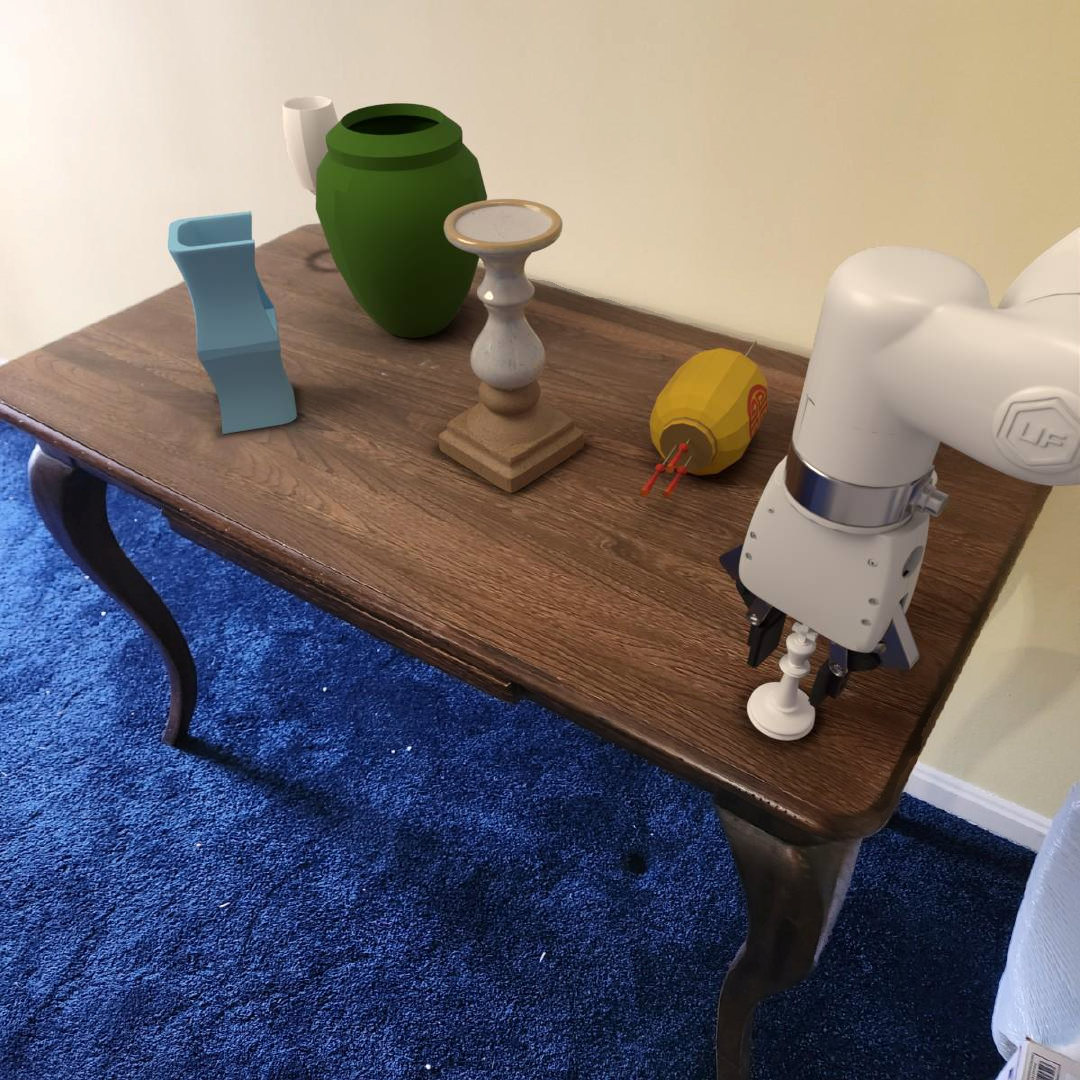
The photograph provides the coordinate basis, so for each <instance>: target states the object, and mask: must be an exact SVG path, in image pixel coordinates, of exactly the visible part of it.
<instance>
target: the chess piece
mask: <svg viewBox="0 0 1080 1080" xmlns="http://www.w3.org/2000/svg"><path fill="white" fill-rule="evenodd" d="M791 630H792V631H793V632H791V633H790V634H789V635H788V636H787V638H786V641H785V644H786V645H785V646H786V649H787V653H785V654H783V656H782V657H780V659H779V662H778V665H779V668H780V670H781V671H782V672H783V675H782V677H781V679H780V681H770V682H766V683H763V684H761V685H759V686H757V687H756V688H755V689H754V690H753V691H752V693H751V695H750V697H749V698H748V701H747V706H746V710H747V711H746V712H747V716H748V718H749V721H750V722H751V723H752V725H753V726H754V727H755V728H756V729H757V730H758V731H759V732H761V733H762V734H764V735H765V736H767V737H769V738H772V739H775V740H779V741H795V740H800V739H801V738H803V737H806V735H808V734H809V733H810V732H811V731H812V729H813V728H814V725H815V720H816V719H815V718H816V708H814V707H813V706H811V705H810V702H809V701H808V699H809V696H808V695H807V694H806V692H804V691H803V690H802V689H800V688H799V681H800V679H801V678H804V677H807V676H808V675H809V674H810V672H811V663H810V661H809V660H808V659H809V657H811V656H812V655H813V654H815V652H816V650H817V642H816V641H817V639H818V637H819V633H818V632H816V631H814V630H813V629H811V628H809V627H808V626H806V625H804V624H803V623H800V622H799V621H795V622H794V623H793V625H792V627H791Z"/></svg>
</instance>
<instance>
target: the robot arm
mask: <svg viewBox="0 0 1080 1080" xmlns="http://www.w3.org/2000/svg"><path fill="white" fill-rule="evenodd" d="M809 357H810V358H809V361H808V366H807V370H806V374H805V379H804V383H803V387H802V391H801V395H800V396H801V397H800V400H799V404H798V409H797V413H796V417H795V421H794V425H793V430H792V434H791V438H790V442H789V446H788V451H787V455H785V456H784V458H783V459H782V460H781V461H780V462H779V463H778V464H777V465H776V467H775V468H774V470H773V472H772V473H771V475H770V478H769V480H768V482H767V483H766V485H765V488H764V490H763V492H762V494H761V496H760V498H759V500H758V503H757V505H756V507H755V510H754V512H753V515H752V518H751V520H750V523H749V525H748V529H747V532H746V535H745V538H744V539H743V540H741V541H738V542H737V543H736V544H733V545H732V546H730V547H728V549H726V550H725V551H724V552H723V553H722V554H720V555H719V556H718V562H719V563H720V565H721V566H722V568H723V569H724V570H725V571H726V573H727V574H728V576H729V577H730V578H731V580H732V581H734V582H736V583H735V588H736V591H737V592H738V594H739V595H740V597H741V599H742V601H743V603H744V604H745V606H746V607H747V609H748V610H747V612H746V614H745V617H746V619H747V621H748V622H749V624H750V629H749V632H748V636H747V640H746V645H747V646H749V647H750V648H749V651H748V656H747V659H746V660H747V661H746V665H747V666H749V667H750V668H751V669H754V668H756V669H758V668H759V667H760V666H761V665H762V663H764V662H765V661H766V659H768V658H769V657H770V656H771V654H773V653H774V652H775V651H776V649H777V648H778V647H779V644H780V641H781V637H782V635H783V631H784V630H783V629H784V626H785V624H786V620H787V616H789V617H791V618H792V619H794V620H796V622H798V623H800V624H802V625H803V624H804V625H806V626H808V627H809V628H810V629H811V630H812V631H814V632H816V633H818V634H820V635H821V636H823V637H825V638H827V639H828V640H829V641H828V658H827V659H826V660H825V661H824V662H823V663H822V664H821V665H820V666H819V668H818V670H817V671H816V672H817V673H816V676H815V678H814V682H813V686H812V688H811V690H810V694H809V696H808V697H809V699H808V701H809V702H810V705H811V706H813V707H814V709H815V710H817V709H818V708H819V707H820V706H821V705H822V703H824V701H825V700H826V699H827V698H828V697H830V698H832V699H833V700H836V699H838V697H839V696H840V695H841V694H842V693H843V691H844V690H845V688H846V686H847V684H848V681H849V679H850V676H851V673H853V672H867V671H875V670H877V669H878V668H881V669H883V670H890V671H900V672H908V671H910V670H911V669H912V668H913V667H914V665H915V664H916V663H917V662H918V660H919V659H920V652H919V649H918V646H917V644H916V641H915V638H914V636H913V633H912V630H911V628H910V625H909V623H908V620H907V617H906V613H907V611H908V609H909V607H910V604H911V602H912V598H913V596H914V593H915V590H916V586H917V582H918V579H919V575H920V572H921V570H922V569H921V568H922V565H923V560H924V558H925V557H924V555H925V551H926V546H927V541H928V536H929V529H930V516H933V517H935V518H938V517H939V516H940V515H941V514H942V513H943V512H944V510H945V508H946V506H947V504H948V502H949V501H950V500H949V499H950V494H948V493H945V492H943V491H941V490H938V489H939V488H938V486H934V485H932V480H933V478H931V476H932V473H933V470H935V469H936V465H935V464H933V463H934V460H935V458H936V455H937V452H938V449H939V447H940V445H941V443H943V444H944V445H946V446H949V447H951V448H953V449H955V450H957V451H959V452H961V453H962V454H964V455H966V456H967V457H970V458H971V459H973V460H975V461H977V462H979V463H980V464H983V465H985V466H987V467H989V468H991V469H993V470H995V471H997V472H1000V473H1002V474H1005V475H1007V476H1010V477H1012V478H1015V479H1017V480H1021V481H1023V482H1024V481H1025V482H1028V483H1033V484H1036V485H1042V486H1050V487H1070V486H1079V485H1080V226H1079V227H1077V228H1076V229H1074V230H1072V231H1071V232H1070V233H1068V234H1067V235H1065V236H1064V237H1063V238H1062V239H1060V240H1059V241H1057V242H1056V243H1055V244H1053V245H1052V246H1051V247H1049V248H1047V250H1045V251H1044V252H1043V253H1041V254H1040V255H1039V256H1037V257H1036V258H1035V259H1034V260H1033V261H1032V262H1030V263H1029V264H1028V265H1027V267H1025V268H1024V269H1023V270H1022V271H1021V272H1020V273H1019V275H1018V276H1017V277H1016V278H1015V279H1014V281H1013V282H1012V283H1011V284H1010V285H1009V286H1008V288H1007V289H1006V291H1005V292H1004V294H1003V295H1002V298H1001V299H1000V302H999V303H998V305H997V307H995V306H994V305H993V304H992V302H991V300H990V291H989V289H988V286H987V284H986V281H985V278H983V277H982V275H981V274H980V273H979V272H978V271H977V269H975V268H974V267H973V266H971V265H970V264H969V263H967V262H965V261H963V260H962V259H960V258H957V257H955V256H953V255H951V254H948V253H945V252H942V251H938V250H934V249H931V248H924V247H919V246H910V245H883V246H875V247H874V246H873V247H870V248H866V249H864V250H861V251H859V252H857V253H854V254H852V255H850V256H849V257H847V258H846V259H845V260H843V261H842V262H841V263H840V264H839V266H838V267H837V268H836V269H835V270H834V272H833V273H832V274H831V276H830V279H829V281H828V283H827V287H826V291H825V294H824V297H823V301H822V305H821V309H820V314H819V319H818V323H817V327H816V331H815V336H814V340H813V344H812V348H811V352H810V356H809ZM882 640H883V641H882Z"/></svg>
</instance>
